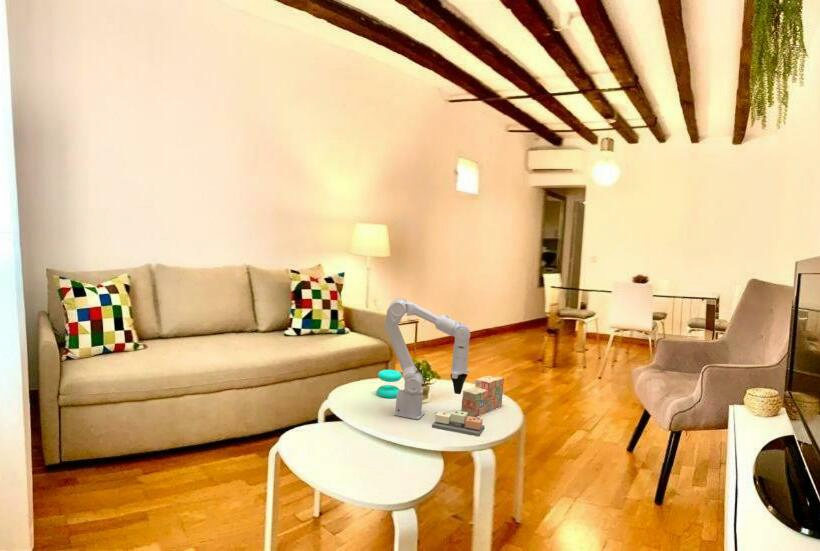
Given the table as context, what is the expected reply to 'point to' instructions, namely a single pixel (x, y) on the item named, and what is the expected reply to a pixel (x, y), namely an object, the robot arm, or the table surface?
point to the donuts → (389, 390)
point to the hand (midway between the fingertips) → (457, 393)
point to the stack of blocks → (483, 396)
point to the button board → (458, 428)
